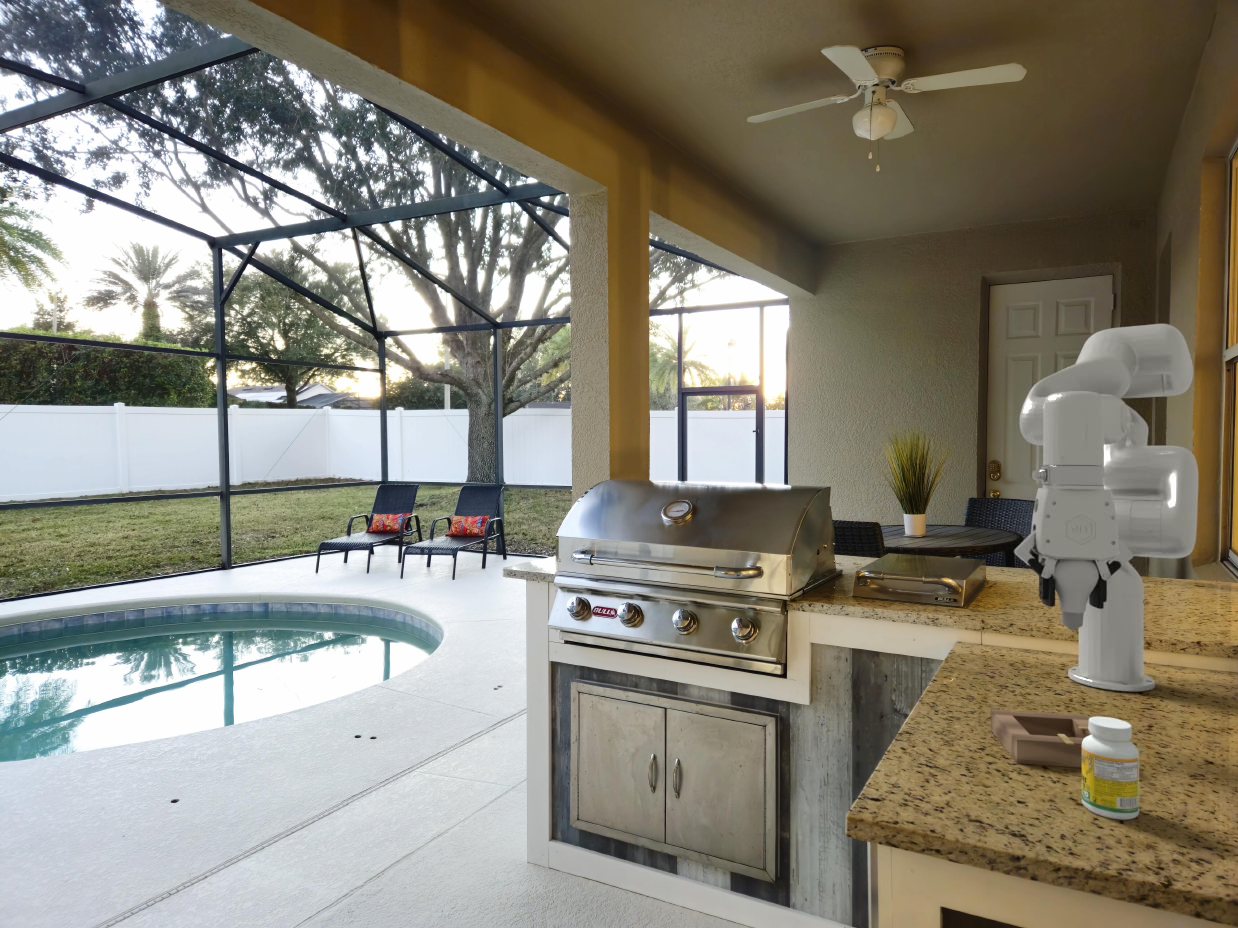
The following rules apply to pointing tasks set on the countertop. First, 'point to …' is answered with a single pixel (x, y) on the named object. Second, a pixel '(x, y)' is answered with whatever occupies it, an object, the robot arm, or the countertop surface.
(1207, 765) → the countertop surface
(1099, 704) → the countertop surface
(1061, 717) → the socket block
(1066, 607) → the lightbulb
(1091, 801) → the supplement bottle
